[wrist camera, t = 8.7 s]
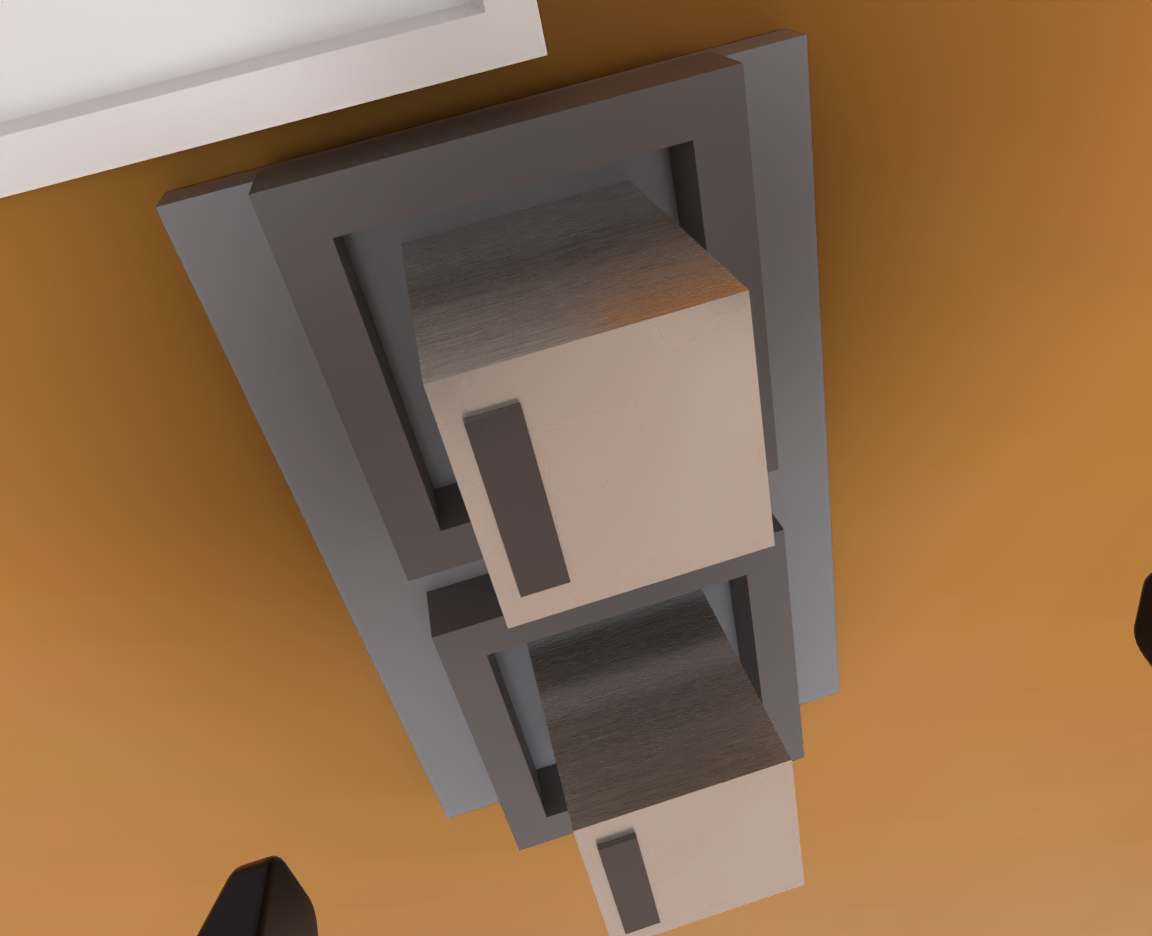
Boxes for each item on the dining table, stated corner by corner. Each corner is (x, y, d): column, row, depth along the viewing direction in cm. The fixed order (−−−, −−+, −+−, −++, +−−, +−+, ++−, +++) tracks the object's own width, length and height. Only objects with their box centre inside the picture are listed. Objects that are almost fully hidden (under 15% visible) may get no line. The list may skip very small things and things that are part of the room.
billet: (692, 572, 22) (794, 764, 17) (712, 690, 25) (806, 889, 20) (521, 625, 22) (574, 837, 17) (559, 739, 24) (615, 954, 19)
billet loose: (629, 179, 17) (752, 293, 12) (664, 383, 19) (778, 550, 14) (400, 244, 16) (423, 389, 11) (466, 442, 19) (509, 633, 14)
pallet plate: (783, 20, 17) (847, 35, 15) (824, 671, 27) (865, 736, 25) (161, 184, 16) (132, 225, 14) (445, 793, 26) (454, 871, 24)
